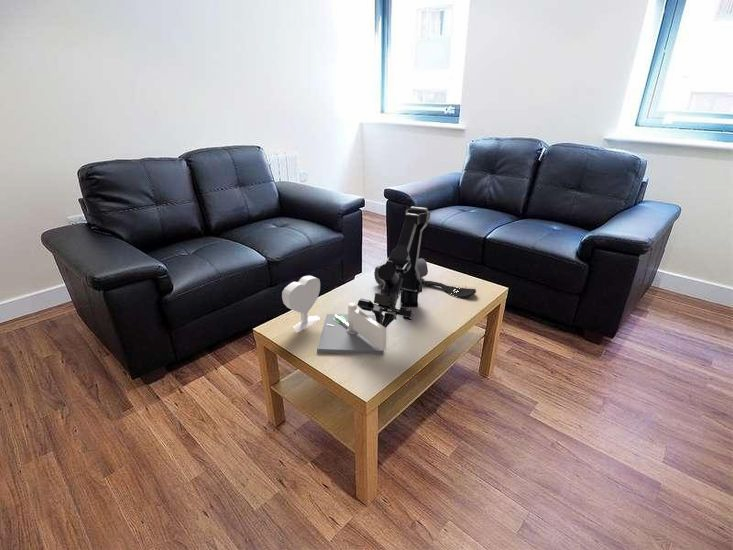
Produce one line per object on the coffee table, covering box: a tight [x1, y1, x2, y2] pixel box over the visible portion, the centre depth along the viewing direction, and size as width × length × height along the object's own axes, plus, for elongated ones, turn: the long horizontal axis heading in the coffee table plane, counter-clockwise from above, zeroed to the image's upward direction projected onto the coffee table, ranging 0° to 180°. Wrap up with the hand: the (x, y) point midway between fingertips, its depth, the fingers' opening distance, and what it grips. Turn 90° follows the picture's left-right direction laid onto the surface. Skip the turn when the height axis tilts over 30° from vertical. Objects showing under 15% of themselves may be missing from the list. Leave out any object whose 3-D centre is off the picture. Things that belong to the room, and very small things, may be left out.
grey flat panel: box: [316, 313, 384, 355], centre depth 138 cm, size 22×22×2 cm
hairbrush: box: [421, 280, 477, 299], centre depth 167 cm, size 8×4×25 cm
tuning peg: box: [335, 302, 387, 352], centre depth 133 cm, size 28×3×10 cm, turn 38°
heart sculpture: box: [281, 275, 321, 332], centre depth 140 cm, size 16×5×18 cm, turn 143°
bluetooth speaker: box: [373, 258, 429, 286], centre depth 172 cm, size 23×9×10 cm, turn 113°
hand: (378, 334), depth 127 cm, fingers closed
